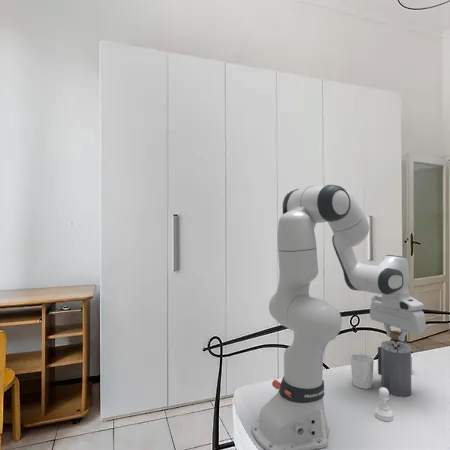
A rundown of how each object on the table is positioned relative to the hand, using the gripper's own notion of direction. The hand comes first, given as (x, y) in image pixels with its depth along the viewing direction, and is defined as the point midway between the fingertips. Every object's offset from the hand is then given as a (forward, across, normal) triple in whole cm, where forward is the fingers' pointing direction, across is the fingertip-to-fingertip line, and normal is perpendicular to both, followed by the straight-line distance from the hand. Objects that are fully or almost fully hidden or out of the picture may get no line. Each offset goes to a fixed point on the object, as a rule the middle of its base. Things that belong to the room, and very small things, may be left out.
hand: (395, 338), depth 118 cm
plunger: (+16, 0, 0) cm, 16 cm away
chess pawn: (+19, +10, -18) cm, 28 cm away
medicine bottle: (+19, -10, +14) cm, 25 cm away
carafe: (+18, -1, 0) cm, 18 cm away
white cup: (+19, -8, -8) cm, 22 cm away
